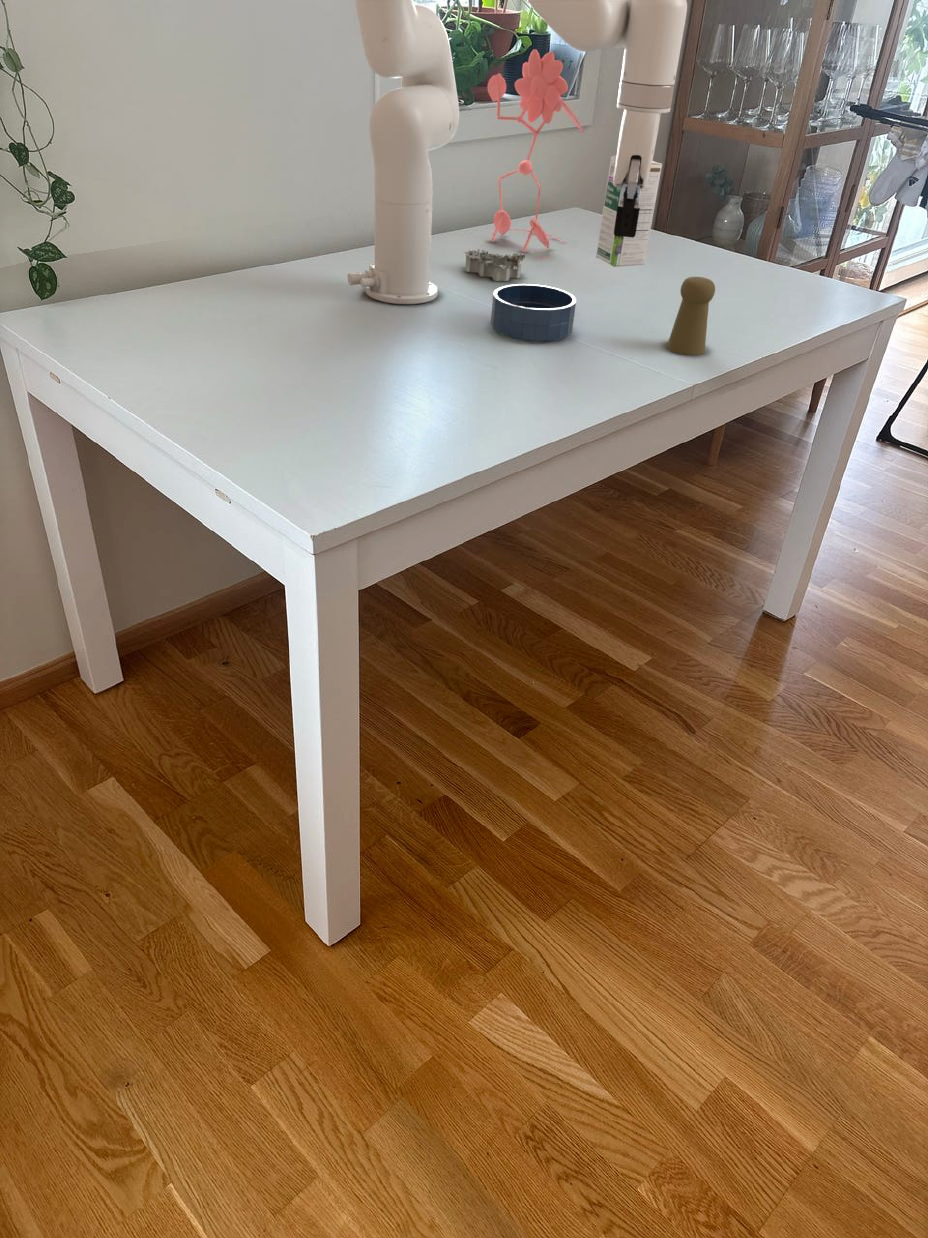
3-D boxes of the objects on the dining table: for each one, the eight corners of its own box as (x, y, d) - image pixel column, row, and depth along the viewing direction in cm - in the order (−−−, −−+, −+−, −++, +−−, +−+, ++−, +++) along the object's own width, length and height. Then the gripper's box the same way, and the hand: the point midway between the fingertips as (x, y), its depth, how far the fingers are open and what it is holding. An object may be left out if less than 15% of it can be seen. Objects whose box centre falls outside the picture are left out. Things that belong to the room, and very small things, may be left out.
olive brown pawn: (704, 357, 147) (720, 286, 141) (666, 352, 148) (680, 281, 142) (704, 344, 152) (719, 275, 146) (667, 339, 153) (680, 270, 146)
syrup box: (594, 257, 145) (608, 154, 137) (626, 255, 147) (642, 154, 139) (613, 267, 141) (629, 162, 133) (646, 265, 143) (664, 161, 135)
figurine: (551, 262, 186) (574, 59, 166) (461, 233, 201) (471, 43, 180) (599, 251, 196) (626, 57, 175) (509, 224, 210) (525, 42, 189)
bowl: (516, 348, 145) (520, 313, 142) (476, 321, 154) (478, 287, 151) (587, 339, 151) (592, 305, 147) (544, 314, 160) (548, 281, 157)
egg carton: (526, 277, 177) (528, 255, 175) (498, 283, 173) (500, 260, 170) (485, 263, 183) (487, 241, 181) (458, 269, 179) (459, 246, 176)
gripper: (620, 88, 139) (602, 214, 149) (616, 102, 125) (597, 240, 135) (671, 92, 138) (650, 219, 148) (673, 107, 124) (649, 246, 134)
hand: (625, 228), depth 141 cm, fingers closed on syrup box, 7 cm apart
